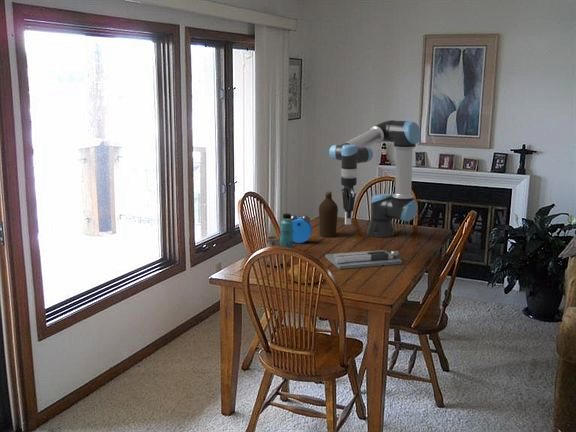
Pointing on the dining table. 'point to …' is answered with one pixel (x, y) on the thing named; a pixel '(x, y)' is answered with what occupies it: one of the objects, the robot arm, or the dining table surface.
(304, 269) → the croissant
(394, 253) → the tongs fixed arm
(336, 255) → the tong arm
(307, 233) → the alarm clock
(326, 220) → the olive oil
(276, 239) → the coffee pot
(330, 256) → the slate board
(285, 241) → the beverage bottle
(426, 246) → the dining table surface
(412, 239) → the dining table surface
